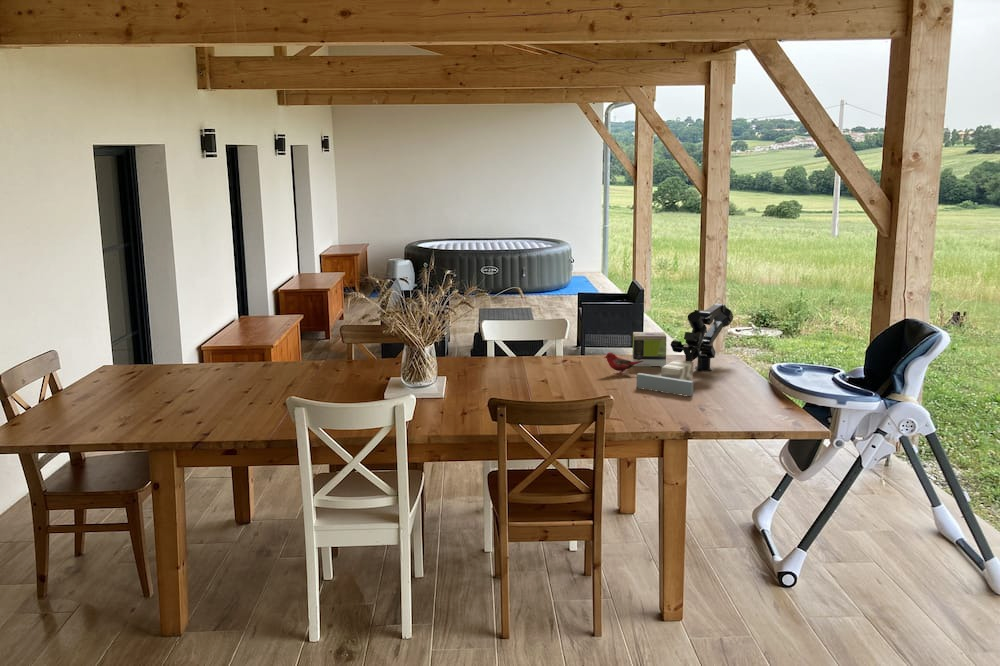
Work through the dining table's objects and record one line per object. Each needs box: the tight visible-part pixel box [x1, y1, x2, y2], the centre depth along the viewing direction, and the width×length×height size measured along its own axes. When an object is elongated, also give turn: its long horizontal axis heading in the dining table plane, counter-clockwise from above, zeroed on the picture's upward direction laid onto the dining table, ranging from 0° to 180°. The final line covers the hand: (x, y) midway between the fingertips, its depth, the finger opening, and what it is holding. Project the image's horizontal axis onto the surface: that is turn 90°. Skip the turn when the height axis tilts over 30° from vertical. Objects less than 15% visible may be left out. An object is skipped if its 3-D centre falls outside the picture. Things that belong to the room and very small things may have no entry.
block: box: [660, 359, 694, 381], centre depth 373 cm, size 16×8×9 cm, turn 147°
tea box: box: [632, 331, 667, 368], centre depth 407 cm, size 15×10×15 cm, turn 84°
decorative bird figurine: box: [604, 352, 643, 375], centre depth 389 cm, size 3×18×10 cm, turn 92°
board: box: [636, 372, 694, 397], centre depth 362 cm, size 2×24×6 cm, turn 56°
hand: (686, 364), depth 381 cm, fingers closed
